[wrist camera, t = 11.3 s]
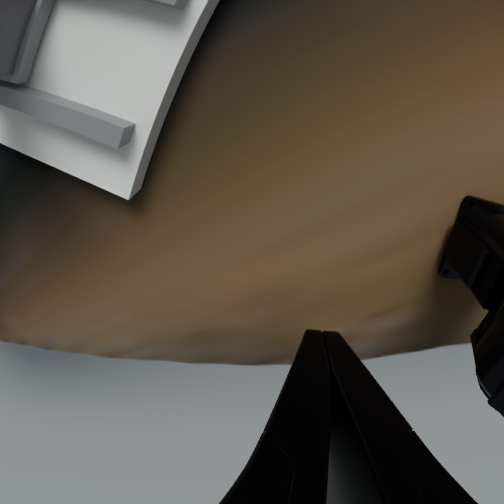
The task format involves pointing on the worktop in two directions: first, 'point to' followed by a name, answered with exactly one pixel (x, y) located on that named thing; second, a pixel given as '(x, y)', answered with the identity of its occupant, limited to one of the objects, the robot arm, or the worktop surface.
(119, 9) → the white rail base plate
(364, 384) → the robot arm
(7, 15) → the breaker handle
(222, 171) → the worktop surface
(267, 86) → the worktop surface
